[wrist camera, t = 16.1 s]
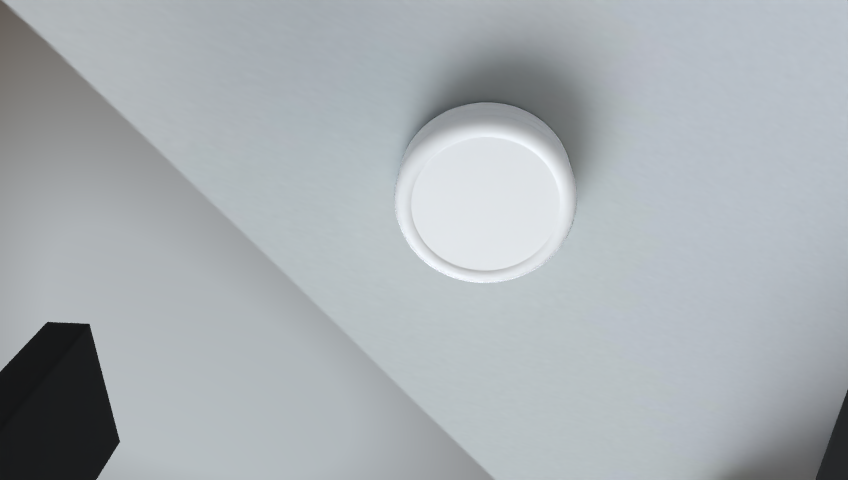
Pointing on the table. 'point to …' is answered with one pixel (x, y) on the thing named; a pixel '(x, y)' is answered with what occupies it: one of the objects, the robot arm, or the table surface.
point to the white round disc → (485, 193)
